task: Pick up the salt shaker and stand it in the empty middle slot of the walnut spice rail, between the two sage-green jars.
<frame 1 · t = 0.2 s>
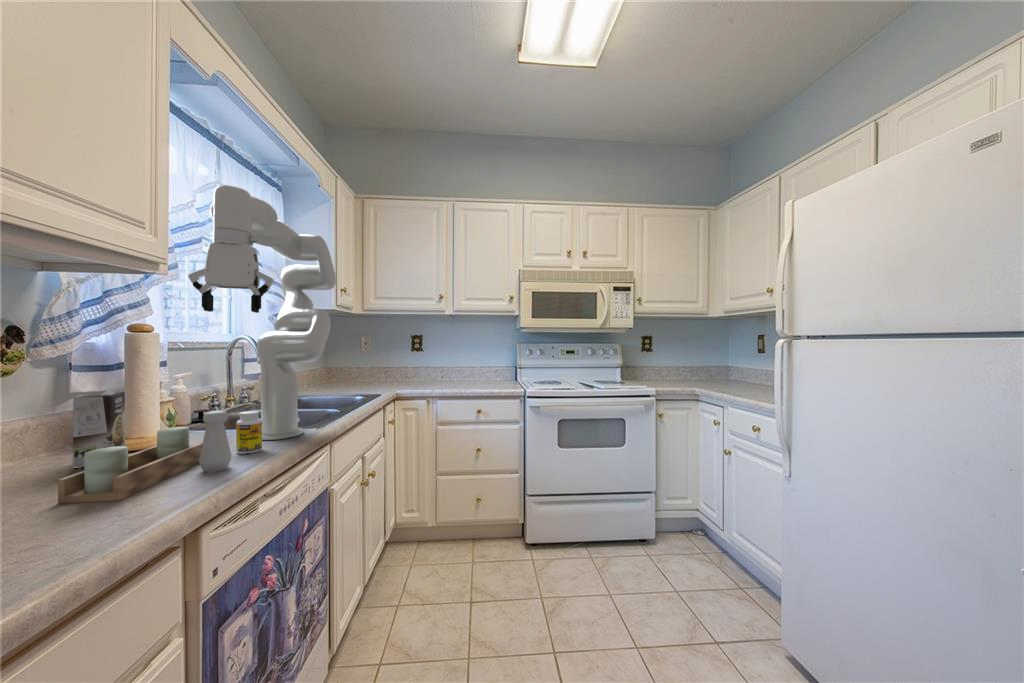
hand: (232, 311, 92), 36 cm above the worktop, tool pointing down, fingers open, 9 cm apart
spice rail: (143, 478, 81), on the worktop
coffee box: (100, 462, 91), on the worktop
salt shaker: (215, 470, 86), on the worktop
supplement bottle: (249, 452, 100), on the worktop
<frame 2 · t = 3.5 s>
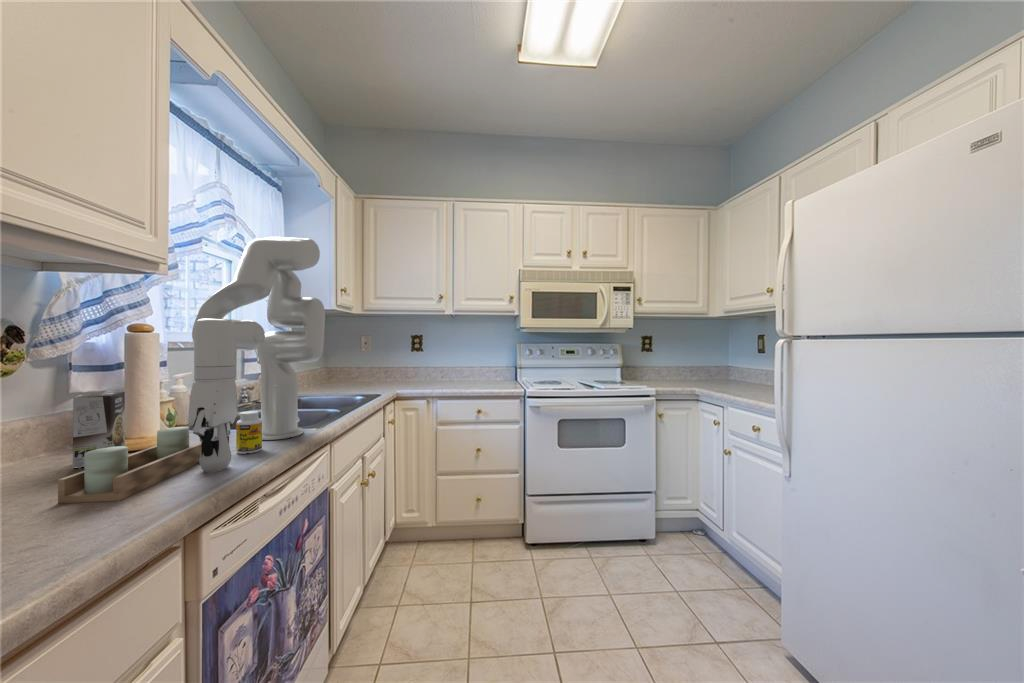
hand: (215, 455, 86), 3 cm above the worktop, tool pointing down, fingers closed on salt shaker, 3 cm apart
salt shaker: (215, 470, 86), on the worktop, touching gripper
everything else where it was.
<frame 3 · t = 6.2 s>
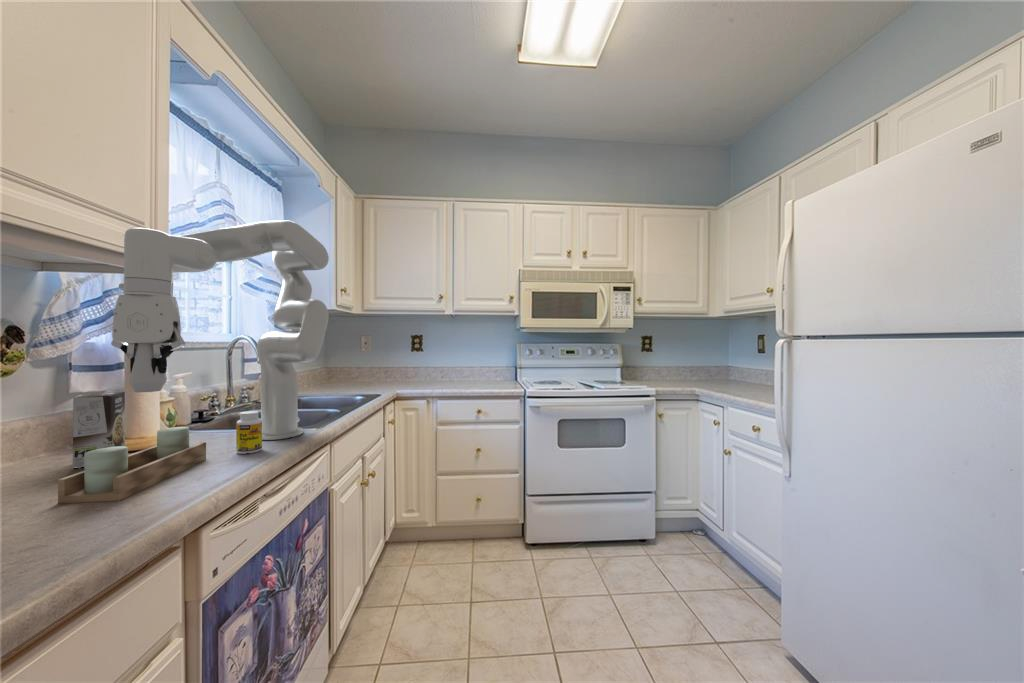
hand: (148, 376, 81), 21 cm above the worktop, tool pointing down, fingers closed on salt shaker, 3 cm apart
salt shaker: (148, 392, 81), point 18 cm above the worktop, touching gripper
everything else where it was.
when the fingers open (6 cm above the worktop, at t = 9.0 s): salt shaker drops 1 cm, resting on spice rail.
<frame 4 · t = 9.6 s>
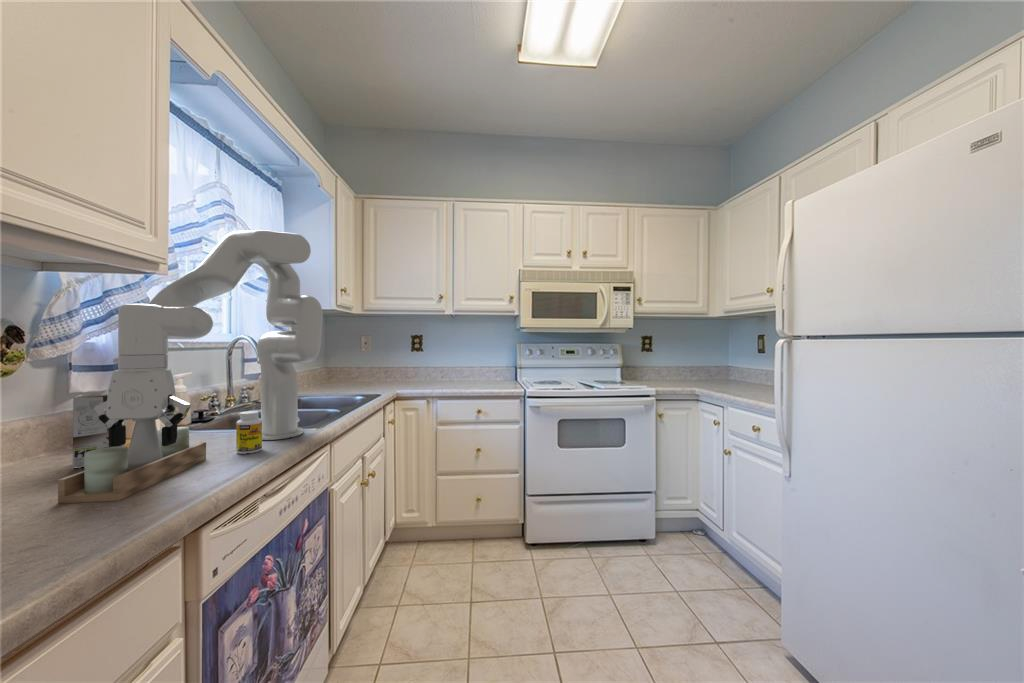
hand: (143, 445, 80), 7 cm above the worktop, tool pointing down, fingers open, 9 cm apart
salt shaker: (143, 472, 81), point 1 cm above the worktop, touching spice rail
everything else where it was.
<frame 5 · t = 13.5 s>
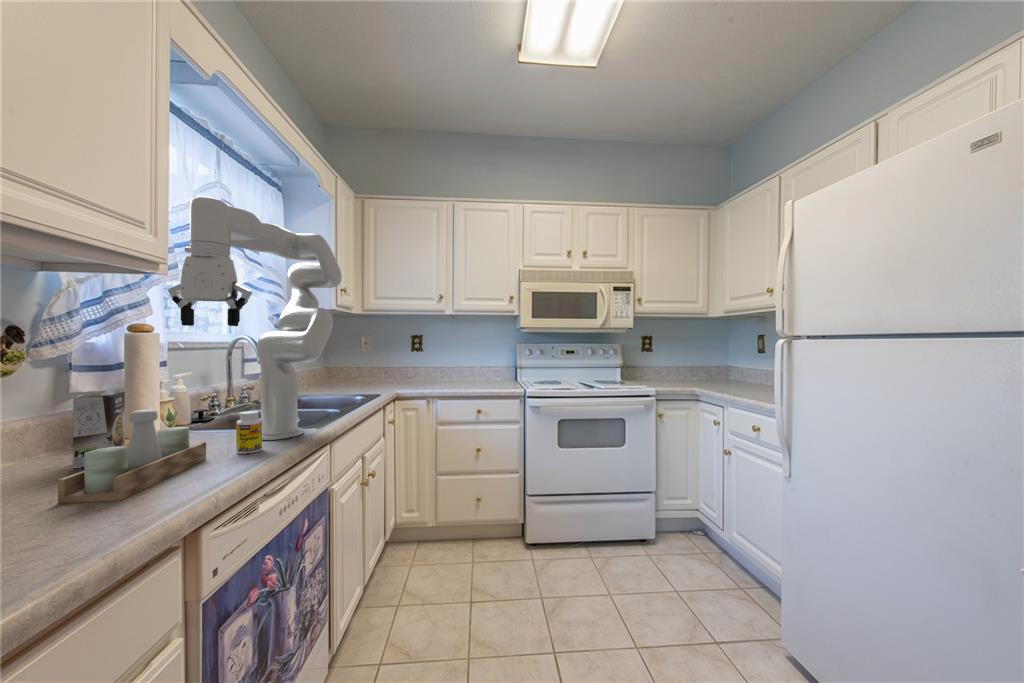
hand: (210, 325, 90), 32 cm above the worktop, tool pointing down, fingers open, 9 cm apart
nothing on the worktop moved.
at the end: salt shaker 0.1 cm off-centre on the spice rail, point 1.0 cm above the spice rail's base; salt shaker tilted 0°; the gripper is holding nothing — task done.
